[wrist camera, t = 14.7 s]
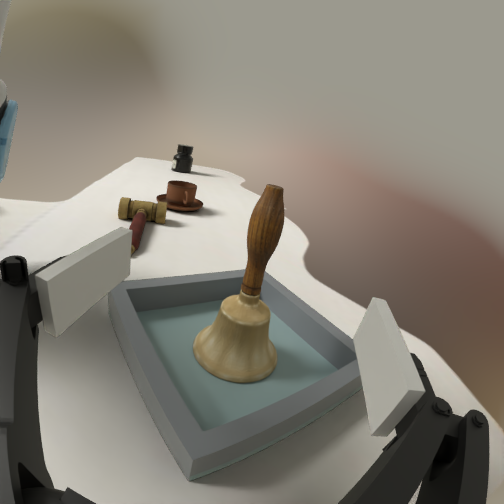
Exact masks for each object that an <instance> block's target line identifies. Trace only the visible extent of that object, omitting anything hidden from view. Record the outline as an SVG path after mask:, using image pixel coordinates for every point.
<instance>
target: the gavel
mask: <svg viewBox="0 0 504 504" xmlns="http://www.w3.org/2000/svg"><path fill="white" fill-rule="evenodd" d="M166 210H167V203H166V202H158V204H156V203H153V202H146V201H137V200H135V201H131V198H124V197H122V198H121V200H120V203H119V209H118V217H119V219H128V218H132V219H133V221H132V223H131V226H130V228H129V229H130V230H132V242H131V254H132V253H134V251H136V250H137V249H138V247H139V244H140V240H141V236H142V233H143V229H144V226H145V222H146V221H155V223H161V224H164V223H165V217H166Z"/></svg>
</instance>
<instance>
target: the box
mask: <svg viewBox="0 0 504 504" xmlns="http://www.w3.org/2000/svg"><path fill="white" fill-rule="evenodd" d="M245 270H246V269H245ZM245 270H235V271H225V272H215V273H205V274H195V275H185V276H174V277H164V278H153V279H142V280H130V281H122V282H120V283H119V284H118V285H117V286H116V287H114V288H113V289H112V290H111V291H110V292H109V293H108V305H109V315H110V318H111V321H112V324H113V327H114V330H115V333H116V336H117V338H118V341H119V344H120V346H121V349H122V352H123V354H124V357H125V359H126V362H127V364H128V367H129V369H130V371H131V374H132V376H133V378H134V381H135V383H136V385H137V387H138V390H139V392H140V394H141V396H142V398H143V400H144V403H145V405H146V407H147V409H148V411H149V413H150V415H151V417H152V419H153V421H154V423H155V425H156V426H157V428H158V430H159V432H160V434H161V436H162V438H163V439H164V441H165V443H166V445H167V447H168V448H169V450H170V452H171V454H172V455H173V457H174V459H175V460H176V462H177V464H178V465H179V467H180V468H181V470H182V472H183V473H184V475H185V476H186V478H187V480H188V481H191V480H194V479H197V478H199V477H202V476H205V475H207V474H210V473H212V472H215V471H217V470H220V469H222V468H224V467H227V466H229V465H231V464H234V463H236V462H238V461H240V460H242V459H245V458H247V457H249V456H251V455H253V454H255V453H257V452H259V451H261V450H263V449H265V448H267V447H269V446H271V445H273V444H275V443H277V442H278V441H280V440H282V439H284V438H286V437H288V436H289V435H291V434H293V433H295V432H296V431H298V430H300V429H301V428H303V427H305V426H306V425H308V424H310V423H311V422H313V421H315V420H316V419H318V418H319V417H321V416H323V415H324V414H326V413H327V412H329V411H330V410H332V409H333V408H335V407H336V406H338V405H339V404H341V403H342V402H344V401H345V400H346V399H348V398H349V397H351V396H352V395H353V394H355V393H356V392H358V391H359V390H360V389H362V388H363V386H362V380H361V375H360V370H359V365H358V360H357V355H356V351H355V346H354V342H353V339H351V338H350V337H349V336H348V335H346V334H345V333H344V332H342V331H341V330H340V329H339V328H337V327H336V326H335V325H333V324H332V323H331V322H329V321H328V320H327V319H326V318H324V317H323V316H322V315H320V314H319V313H318V312H317V311H315V310H314V309H313V308H311V307H310V306H309V305H308V304H306V303H305V302H304V301H303V300H301V299H300V298H299V297H297V296H296V295H295V294H294V293H292V292H291V291H290V290H288V289H287V288H286V287H285V286H283V285H282V284H281V283H279V282H278V281H277V280H276V279H274V278H273V277H272V276H271V275H269V274H268V273H267V272H265V273H264V278H263V282H262V286H261V292H260V298H259V300H261V301H263V302H264V303H265V304H266V305H267V306H268V308H269V309H270V312H271V318H270V323H269V339H270V340H271V342H272V343H273V345H274V346H275V349H276V352H277V359H278V361H277V365H276V367H275V369H274V371H273V372H272V373H271V374H270V375H269V376H267V377H266V378H264V379H262V380H259V381H256V382H250V383H235V382H230V381H226V380H223V379H220V378H218V377H216V376H214V375H212V374H210V373H209V372H207V371H206V370H205V369H204V368H203V367H202V366H201V365H200V364H199V363H198V361H197V360H196V358H195V356H194V353H193V342H194V339H195V337H196V336H197V335H198V334H199V332H200V331H201V330H203V329H204V328H206V327H207V326H209V325H212V324H213V322H214V321H215V319H216V317H217V315H218V312H219V309H220V306H221V304H222V302H223V301H224V300H225V299H226V298H227V297H229V296H232V295H239V294H240V291H241V284H242V282H243V277H244V274H245Z"/></svg>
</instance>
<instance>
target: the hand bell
mask: <svg viewBox="0 0 504 504" xmlns="http://www.w3.org/2000/svg"><path fill="white" fill-rule="evenodd" d="M283 224H284V203H283V188H282V187H279V186H276V185H270V184H268V185H267V186H266V188H265V190H264V192H263V194H262V196H261V198H260V199H259V201H258V202H257V204H256V206H255V208H254V210H253V212H252V215H251V218H250V222H249V227H248V235H247V249H248V262H247V267H246V270H245V274H244V277H243V282H242V284H241V291H240V294H239V295H232V296H229V297H227V298H226V299H225V300H224V301H223V302H222V304H221V306H220V309H219V312H218V315H217V317H216V319H215V321H214V322H213V324H212V325H209V326H207V327H206V328H204V329H203V330H201V331H200V332H199V334H198V335H197V336H196V337H195V339H194V342H193V353H194V356H195V358H196V360H197V361H198V363H199V364H200V365H201V366H202V367H203V368H204V369H205V370H206V371H207V372H209V373H210V374H212V375H214V376H216V377H218V378H220V379H223V380H226V381H230V382H235V383H250V382H256V381H259V380H262V379H264V378H266V377H267V376H269V375H270V374H271V373H272V372H273V371H274V369H275V367H276V365H277V361H278V359H277V352H276V349H275V346H274V345H273V343H272V342H271V340H270V339H269V323H270V318H271V312H270V309H269V308H268V306H267V305H266V304H265V303H264V302H263V301H261V300H259V298H260V292H261V286H262V282H263V278H264V273H265V268H266V265H267V263H268V261H269V259H270V257H271V255H272V254H273V252H274V251H275V249H276V247H277V245H278V242H279V239H280V236H281V233H282V229H283Z"/></svg>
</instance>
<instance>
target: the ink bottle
mask: <svg viewBox="0 0 504 504" xmlns="http://www.w3.org/2000/svg"><path fill="white" fill-rule="evenodd" d="M192 150H193V147H192V146H188V145H181V144H179V145H178V150H177V153H178V154H176V155H175V156H174V159H173V164H172V170H173V171H177V172H183V173H189V172H191V167H192V162H193V158H192V157H191V156H190V155H191V154H192Z"/></svg>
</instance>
